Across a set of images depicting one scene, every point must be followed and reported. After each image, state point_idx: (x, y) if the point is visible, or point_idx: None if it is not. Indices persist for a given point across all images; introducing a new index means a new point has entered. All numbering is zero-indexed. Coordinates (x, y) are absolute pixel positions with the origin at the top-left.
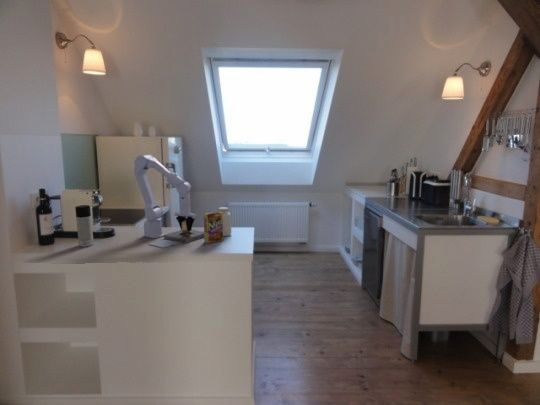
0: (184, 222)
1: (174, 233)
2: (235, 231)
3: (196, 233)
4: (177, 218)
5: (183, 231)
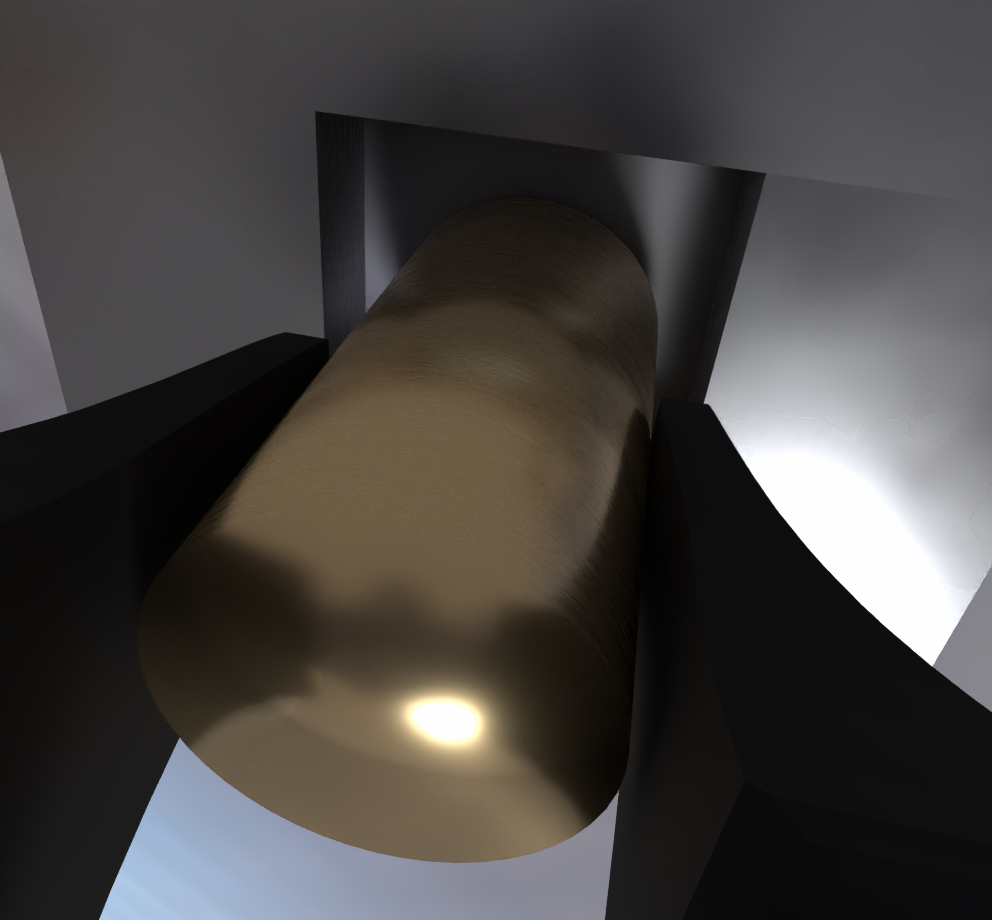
0: (240, 519)
1: (972, 213)
2: None
3: None
4: (926, 805)
5: (480, 268)
